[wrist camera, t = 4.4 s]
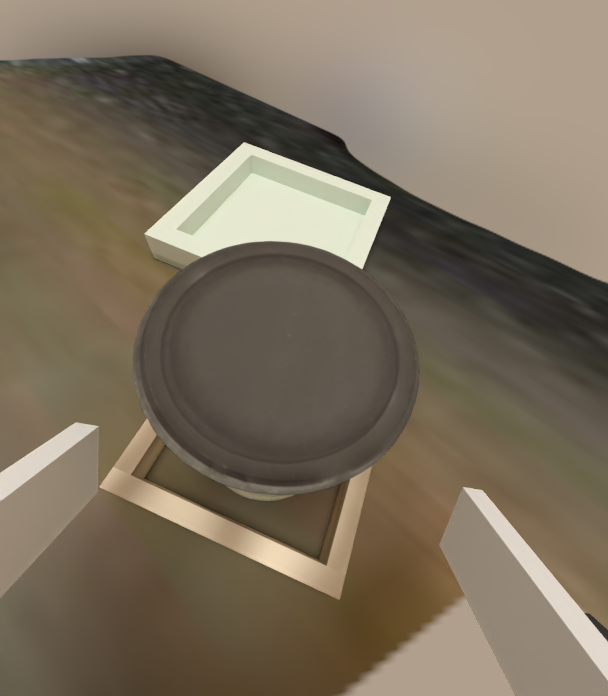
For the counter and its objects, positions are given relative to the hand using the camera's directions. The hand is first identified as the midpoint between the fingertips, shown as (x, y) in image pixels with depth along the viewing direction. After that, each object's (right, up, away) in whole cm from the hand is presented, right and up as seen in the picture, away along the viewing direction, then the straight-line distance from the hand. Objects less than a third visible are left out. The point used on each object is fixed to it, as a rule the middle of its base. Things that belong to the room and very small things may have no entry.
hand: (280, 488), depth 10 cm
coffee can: (-2, -1, +12) cm, 13 cm away
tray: (-2, +18, +23) cm, 30 cm away
